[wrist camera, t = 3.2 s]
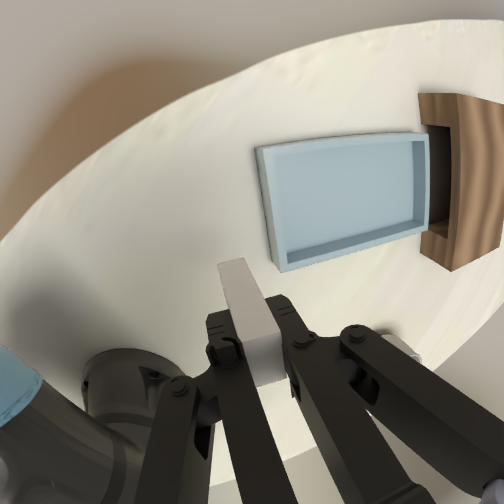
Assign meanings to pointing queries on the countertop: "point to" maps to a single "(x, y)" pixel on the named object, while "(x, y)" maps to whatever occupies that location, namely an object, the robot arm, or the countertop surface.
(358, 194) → the tray
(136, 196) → the countertop surface
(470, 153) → the shelf
